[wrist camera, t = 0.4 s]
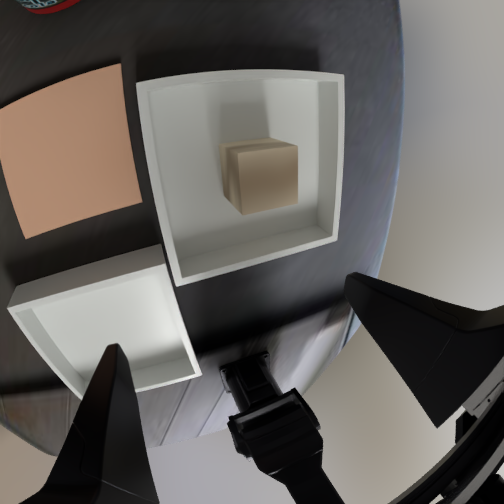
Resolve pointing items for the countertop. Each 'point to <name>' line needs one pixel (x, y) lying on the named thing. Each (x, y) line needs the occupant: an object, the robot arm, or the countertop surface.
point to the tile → (69, 151)
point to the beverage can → (46, 5)
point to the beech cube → (259, 174)
